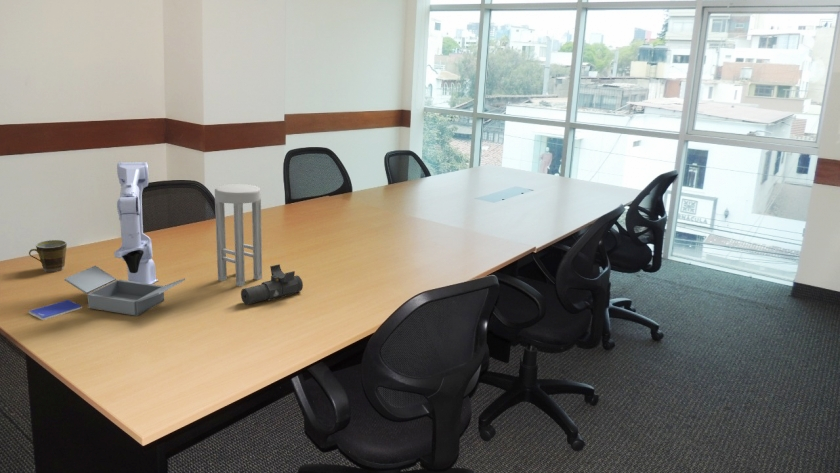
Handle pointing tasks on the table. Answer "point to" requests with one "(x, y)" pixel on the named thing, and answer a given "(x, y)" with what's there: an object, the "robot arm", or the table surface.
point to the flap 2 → (161, 290)
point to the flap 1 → (90, 279)
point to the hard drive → (54, 309)
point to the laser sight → (273, 287)
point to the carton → (124, 297)
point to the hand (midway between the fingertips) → (133, 272)
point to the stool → (238, 230)
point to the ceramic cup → (51, 254)
